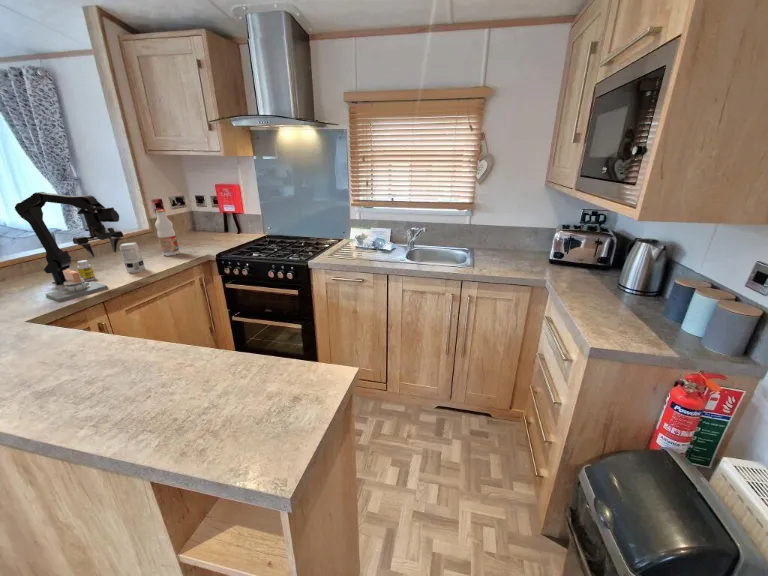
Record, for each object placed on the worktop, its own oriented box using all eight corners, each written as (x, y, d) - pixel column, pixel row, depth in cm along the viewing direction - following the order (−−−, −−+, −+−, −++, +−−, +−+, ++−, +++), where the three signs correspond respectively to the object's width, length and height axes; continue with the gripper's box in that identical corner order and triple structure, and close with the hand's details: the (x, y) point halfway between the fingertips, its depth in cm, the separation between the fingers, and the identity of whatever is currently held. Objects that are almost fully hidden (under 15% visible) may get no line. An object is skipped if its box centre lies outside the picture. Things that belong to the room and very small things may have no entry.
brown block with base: (68, 294, 147) (61, 276, 144) (59, 290, 152) (52, 272, 149) (93, 287, 155) (87, 270, 151) (84, 284, 159) (77, 267, 156)
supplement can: (123, 272, 181) (115, 245, 176) (139, 268, 188) (131, 241, 183) (133, 273, 178) (125, 246, 173) (148, 269, 185) (141, 242, 180)
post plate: (46, 296, 150) (42, 288, 148) (94, 284, 164) (91, 276, 163) (59, 302, 143) (56, 293, 142) (108, 288, 158) (105, 280, 156)
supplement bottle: (87, 281, 168) (80, 262, 164) (79, 281, 169) (72, 262, 165) (98, 278, 173) (91, 259, 169) (89, 277, 174) (83, 259, 170)
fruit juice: (161, 254, 215) (149, 210, 204) (177, 251, 221) (166, 208, 211) (165, 257, 208) (153, 211, 198) (181, 254, 214) (170, 209, 204)
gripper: (77, 227, 149) (89, 261, 155) (124, 220, 164) (133, 251, 170) (66, 225, 154) (78, 258, 160) (113, 219, 169) (122, 249, 175)
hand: (104, 254), depth 166 cm, fingers open, 9 cm apart
